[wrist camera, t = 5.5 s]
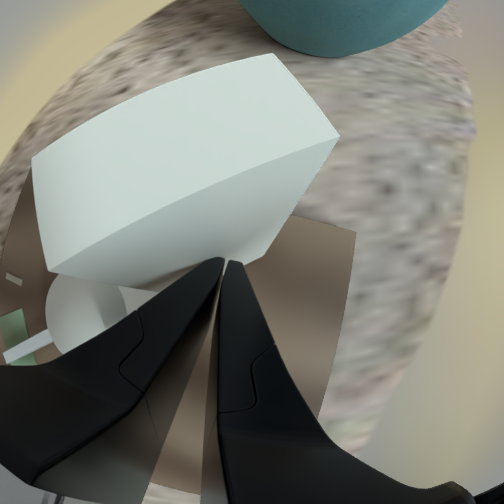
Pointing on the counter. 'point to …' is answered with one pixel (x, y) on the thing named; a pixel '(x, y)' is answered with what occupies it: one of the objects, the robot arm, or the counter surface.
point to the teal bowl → (339, 22)
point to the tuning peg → (170, 190)
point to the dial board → (269, 297)
